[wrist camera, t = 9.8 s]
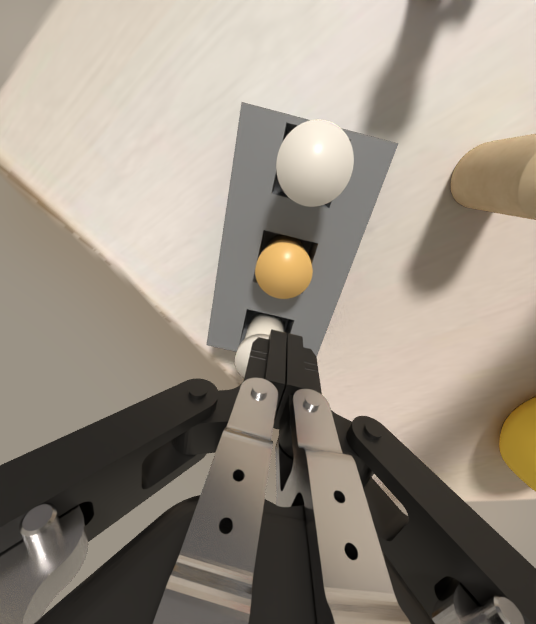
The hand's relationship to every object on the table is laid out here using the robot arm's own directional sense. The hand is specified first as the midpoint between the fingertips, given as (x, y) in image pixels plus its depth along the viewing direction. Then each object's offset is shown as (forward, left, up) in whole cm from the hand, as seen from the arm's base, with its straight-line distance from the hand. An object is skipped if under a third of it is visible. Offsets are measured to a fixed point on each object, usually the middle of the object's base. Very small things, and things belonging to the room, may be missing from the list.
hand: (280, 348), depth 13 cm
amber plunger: (0, 0, -17) cm, 17 cm away
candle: (-16, -11, -19) cm, 27 cm away
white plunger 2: (0, -8, -15) cm, 17 cm away
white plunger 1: (0, +8, -15) cm, 17 cm away
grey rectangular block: (0, 0, -19) cm, 19 cm away
